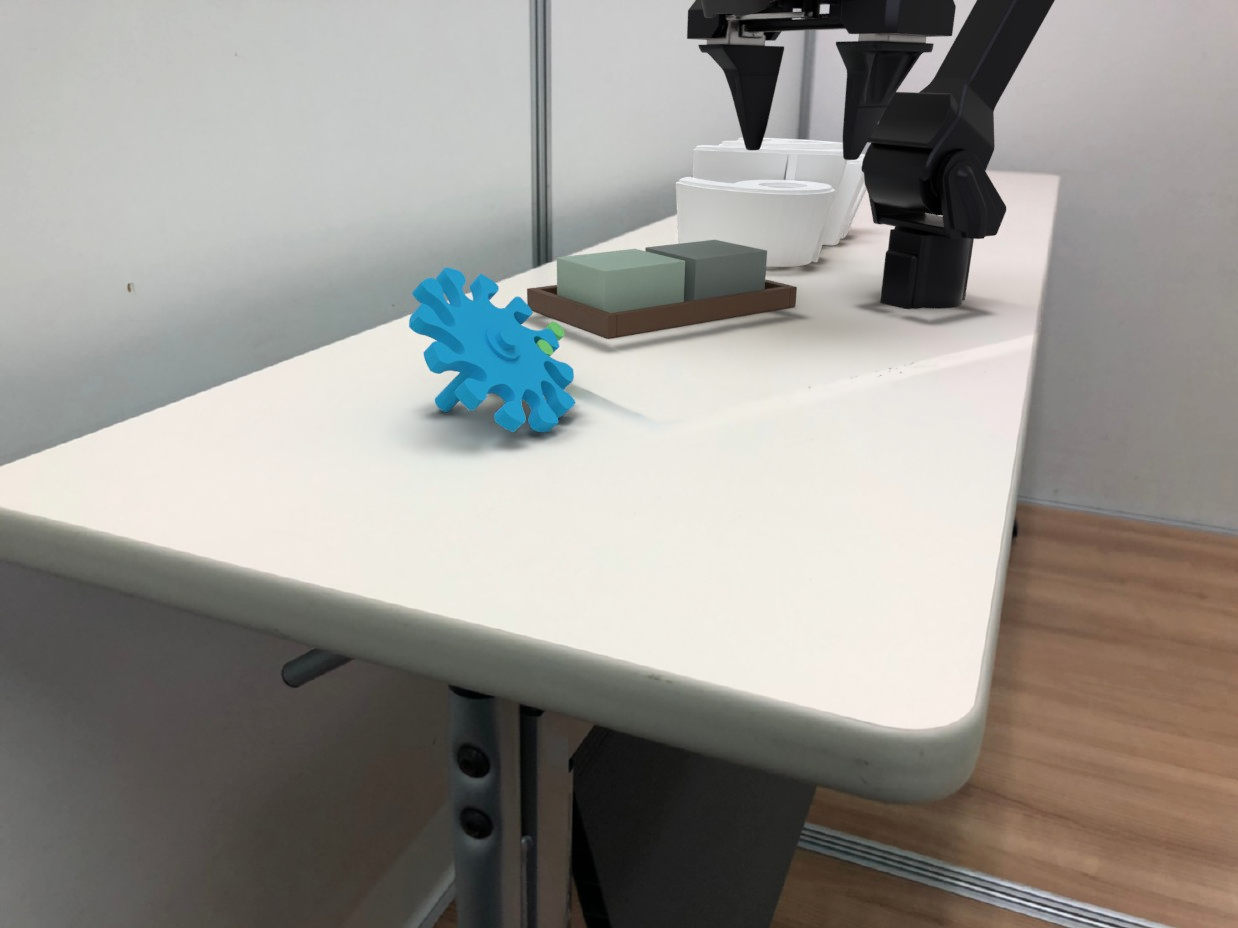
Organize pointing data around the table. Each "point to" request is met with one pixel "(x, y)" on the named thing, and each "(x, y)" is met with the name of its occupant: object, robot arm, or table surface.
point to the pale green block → (621, 279)
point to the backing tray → (659, 310)
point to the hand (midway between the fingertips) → (799, 154)
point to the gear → (491, 352)
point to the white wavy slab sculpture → (771, 197)
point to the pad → (717, 267)
